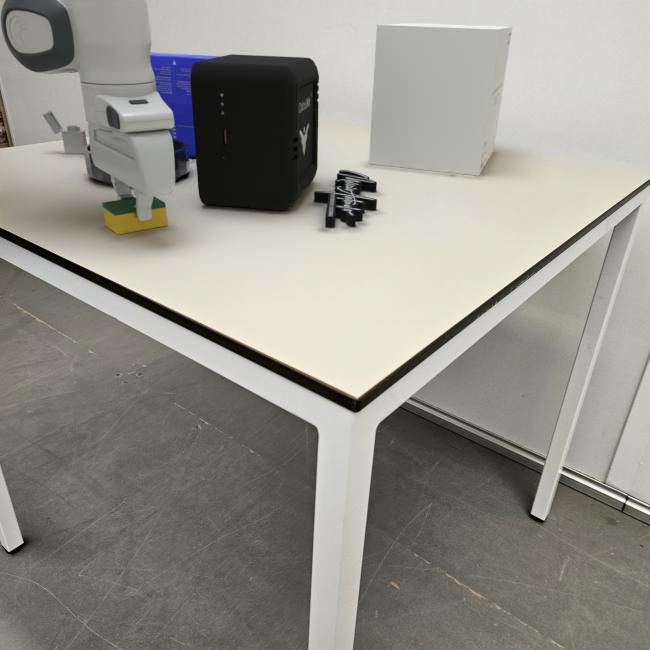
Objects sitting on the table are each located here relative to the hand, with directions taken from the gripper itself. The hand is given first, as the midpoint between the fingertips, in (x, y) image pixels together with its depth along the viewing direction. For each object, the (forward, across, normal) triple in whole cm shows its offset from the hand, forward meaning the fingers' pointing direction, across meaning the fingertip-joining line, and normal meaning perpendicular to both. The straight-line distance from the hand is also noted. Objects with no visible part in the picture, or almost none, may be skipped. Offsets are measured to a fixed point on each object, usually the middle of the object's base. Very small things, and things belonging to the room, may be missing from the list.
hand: (135, 213), depth 82 cm
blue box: (+2, -37, +27) cm, 46 cm away
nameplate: (+2, +6, +32) cm, 33 cm away
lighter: (+2, -50, +6) cm, 50 cm away
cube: (+2, -9, +68) cm, 69 cm away
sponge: (+2, 0, 0) cm, 2 cm away
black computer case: (+2, -4, +23) cm, 23 cm away
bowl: (+2, -26, +11) cm, 28 cm away
